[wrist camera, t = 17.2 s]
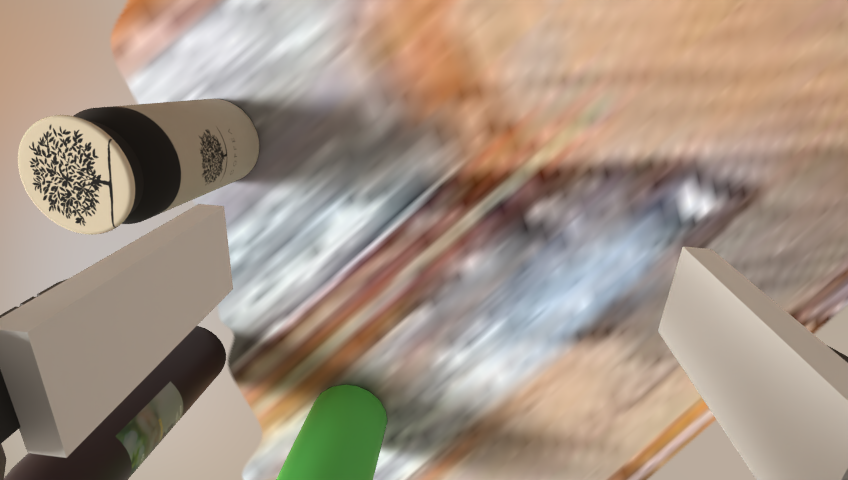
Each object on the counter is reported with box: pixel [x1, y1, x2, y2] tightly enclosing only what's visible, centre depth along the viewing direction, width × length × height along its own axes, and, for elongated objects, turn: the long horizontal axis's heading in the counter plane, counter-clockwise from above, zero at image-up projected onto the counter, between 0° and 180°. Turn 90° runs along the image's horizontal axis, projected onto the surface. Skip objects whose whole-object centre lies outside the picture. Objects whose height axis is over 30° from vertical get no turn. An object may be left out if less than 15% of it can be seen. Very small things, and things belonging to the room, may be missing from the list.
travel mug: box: [18, 99, 259, 234], centre depth 37 cm, size 8×8×18 cm
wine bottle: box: [4, 326, 226, 480], centre depth 40 cm, size 7×7×30 cm
